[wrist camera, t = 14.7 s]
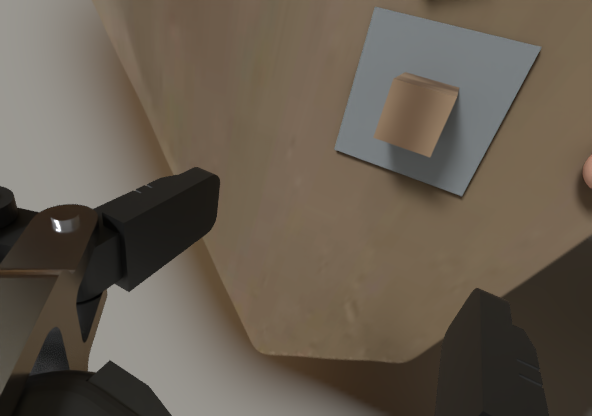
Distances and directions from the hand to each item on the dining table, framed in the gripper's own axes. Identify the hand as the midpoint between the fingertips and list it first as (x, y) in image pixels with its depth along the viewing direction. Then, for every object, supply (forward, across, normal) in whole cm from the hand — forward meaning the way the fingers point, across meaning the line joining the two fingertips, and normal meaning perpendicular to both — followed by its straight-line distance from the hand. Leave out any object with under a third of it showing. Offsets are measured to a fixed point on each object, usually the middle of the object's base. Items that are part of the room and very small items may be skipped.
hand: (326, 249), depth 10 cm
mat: (+28, 0, 0) cm, 28 cm away
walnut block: (+27, 0, 0) cm, 27 cm away
